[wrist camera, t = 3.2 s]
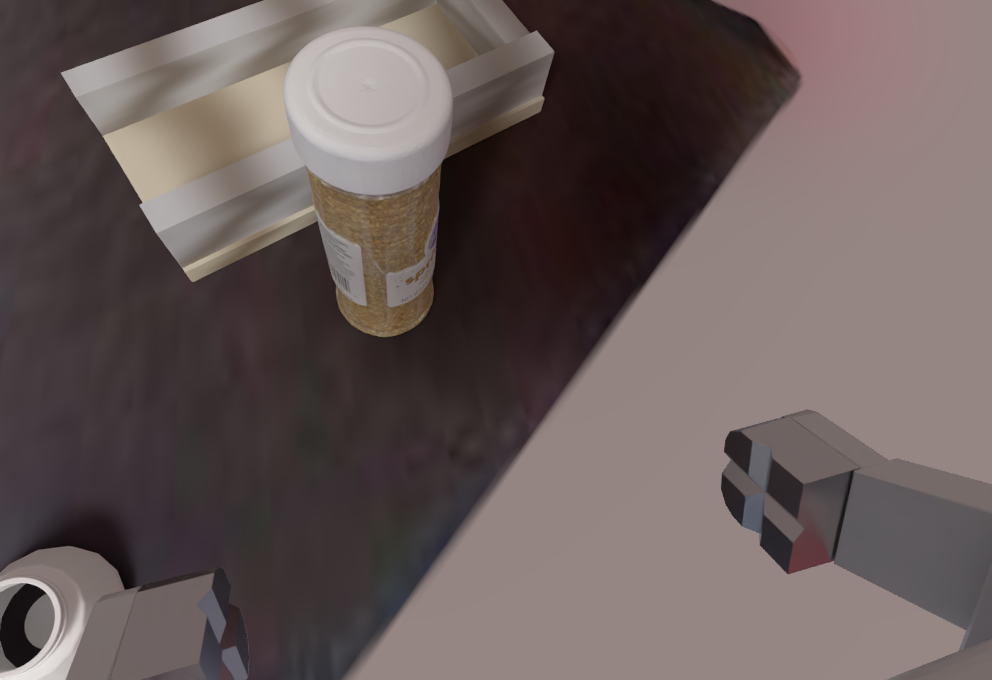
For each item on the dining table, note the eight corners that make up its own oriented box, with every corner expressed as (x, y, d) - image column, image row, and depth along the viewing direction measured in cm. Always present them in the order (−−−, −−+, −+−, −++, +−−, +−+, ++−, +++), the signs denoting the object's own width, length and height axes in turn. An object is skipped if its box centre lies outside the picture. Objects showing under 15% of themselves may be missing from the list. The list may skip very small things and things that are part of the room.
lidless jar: (26, 532, 23) (-49, 675, 22) (-24, 528, 21) (-115, 691, 19) (154, 567, 24) (90, 712, 22) (121, 568, 21) (44, 733, 19)
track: (192, 282, 28) (159, 238, 24) (96, 123, 30) (52, 59, 26) (540, 111, 34) (557, 55, 30) (440, -11, 36) (444, -78, 32)
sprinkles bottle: (439, 333, 28) (466, 150, 16) (338, 344, 28) (283, 159, 15) (427, 247, 30) (443, 16, 17) (331, 254, 29) (275, 17, 16)
